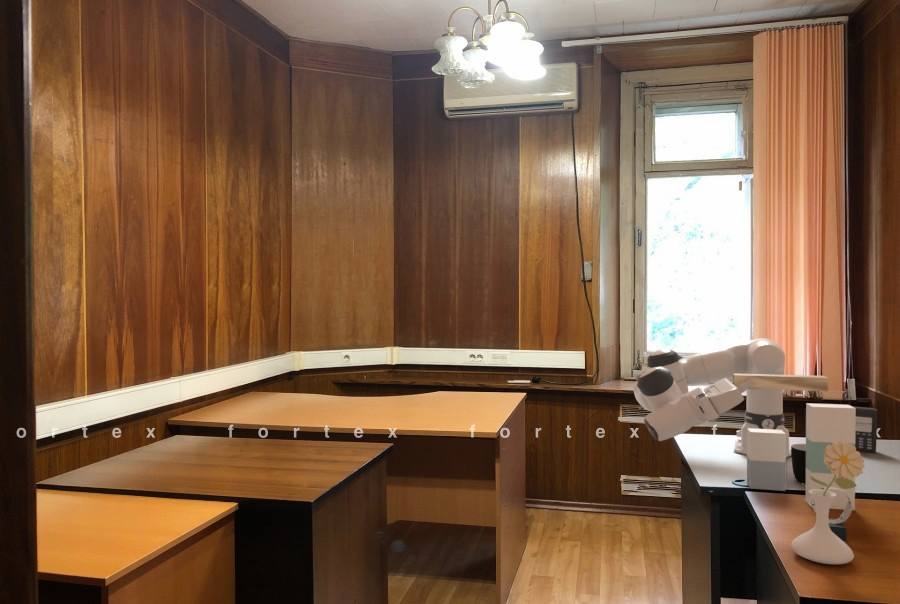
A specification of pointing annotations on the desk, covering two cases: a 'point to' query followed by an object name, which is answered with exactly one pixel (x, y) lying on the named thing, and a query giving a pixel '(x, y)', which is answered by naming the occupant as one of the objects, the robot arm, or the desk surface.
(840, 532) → the watch
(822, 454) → the tower
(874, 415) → the card reader
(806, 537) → the flower in vase
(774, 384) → the batten
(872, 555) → the desk surface
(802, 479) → the mug
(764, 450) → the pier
